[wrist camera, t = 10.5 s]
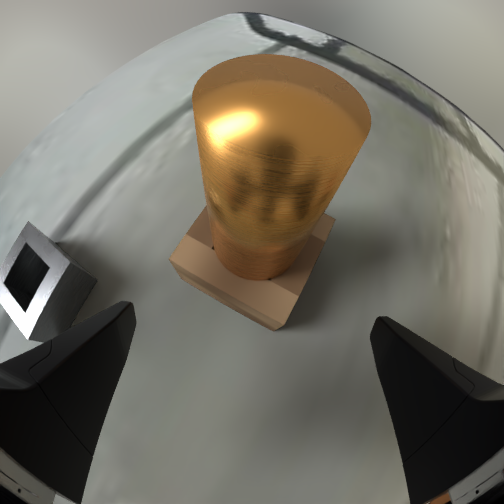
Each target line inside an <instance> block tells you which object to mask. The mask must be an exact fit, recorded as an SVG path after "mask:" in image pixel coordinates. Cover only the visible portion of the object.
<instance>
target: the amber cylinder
mask: <svg viewBox="0 0 504 504" xmlns="http://www.w3.org/2000/svg"><path fill="white" fill-rule="evenodd" d="M192 102H193V111H194V119H195V127H196V135H197V142H198V150H199V157H200V164H201V171H202V178H203V184H204V191H205V197H206V204H207V210H208V216H209V222H210V228H211V234H212V240H213V246H214V250H215V253H216V256H217V257H218V259H219V261H220V262H221V264H222V265H223V266H224V267H225V268H226V269H227V270H228V271H230V272H231V273H233V274H234V275H236V276H238V277H240V278H243V279H247V280H252V281H263V280H269V279H272V278H275V277H277V276H279V275H281V274H283V273H284V272H285V271H287V270H288V269H289V268H290V267H291V265H292V264H293V263H294V261H295V259H296V258H297V256H298V255H299V253H300V251H301V250H302V248H303V247H304V245H305V243H306V242H307V240H308V238H309V237H310V235H311V233H312V232H313V230H314V228H315V227H316V225H317V223H318V222H319V220H320V218H321V217H322V215H323V213H324V212H325V210H326V208H327V207H328V205H329V203H330V201H331V200H332V198H333V196H334V195H335V193H336V191H337V189H338V188H339V186H340V184H341V182H342V181H343V179H344V177H345V175H346V174H347V172H348V170H349V168H350V167H351V165H352V163H353V161H354V159H355V158H356V156H357V154H358V152H359V150H360V149H361V147H362V145H363V143H364V141H365V139H366V138H367V136H368V133H369V131H370V127H371V116H370V112H369V109H368V106H367V104H366V102H365V101H364V99H363V98H362V96H361V95H360V94H359V92H358V91H357V90H356V89H355V88H354V87H353V86H352V85H351V84H350V83H348V82H347V81H346V80H345V79H343V78H342V77H340V76H339V75H337V74H336V73H334V72H332V71H330V70H329V69H327V68H324V67H322V66H320V65H318V64H315V63H313V62H309V61H306V60H303V59H299V58H295V57H290V56H283V55H272V54H258V55H248V56H242V57H237V58H233V59H230V60H227V61H224V62H222V63H220V64H218V65H216V66H214V67H212V68H211V69H209V70H208V71H207V72H206V73H204V74H203V75H202V76H201V77H200V79H199V80H198V81H197V83H196V85H195V87H194V90H193V95H192Z"/></svg>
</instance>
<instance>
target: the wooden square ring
mask: <svg viewBox="0 0 504 504" xmlns="http://www.w3.org/2000/svg"><path fill="white" fill-rule="evenodd" d="M335 220H336V219H334V218H332V217H330V216H328V215H326V214H325V213H323V215H322V217H321V218H320V220H319V222H318V223H317V225H316V227H315V228H314V230H313V232H312V233H311V235H310V237H309V238H308V240H307V242H306V243H305V245H304V247H303V248H302V250H301V251H300V253H299V255H298V256H297V258H296V259H295V261H294V263H293V264H292V265H291V267H290V268H289V269H288V270H287V271H285V272H284V273H283V274H281V275H279V276H277V277H275V278H272V279H271V281H269V280H263V281H252V280H247V279H243V278H240V277H238V276H236V275H234V274H233V273H231V272H230V271H228V270H227V269H226V268H225V267H224V266H223V265H222V264H221V262H220V261H219V259H218V257H217V256H216V253H215V250H214V246H213V240H212V234H211V228H210V222H209V216H208V210H207V205H206V207H205V208H204V209H203V211H202V212H201V214H200V215H199V216H198V218H197V219H196V220H195V222H194V223H193V225H192V226H191V227H190V229H189V230H188V232H187V233H186V235H185V236H184V237H183V239H182V240H181V242H180V243H179V245H178V246H177V247H176V249H175V250H174V252H173V253H172V255H171V256H170V258H169V260H170V262H171V263H172V265H173V267H174V268H175V270H176V271H177V273H178V274H179V276H180V277H181V279H183V280H184V281H186V282H187V283H189V284H191V285H192V286H194V287H196V288H197V289H199V290H201V291H202V292H204V293H206V294H207V295H209V296H211V297H213V298H214V299H216V300H218V301H219V302H221V303H223V304H225V305H226V306H228V307H230V308H232V309H233V310H235V311H237V312H239V313H240V314H242V315H244V316H246V317H248V318H249V319H251V320H253V321H255V322H257V323H259V324H260V325H262V326H264V327H266V328H268V329H270V330H272V331H275V330H276V329H278V328H280V327H282V326H283V325H284V324H285V322H286V321H287V319H288V317H289V315H290V313H291V311H292V309H293V307H294V305H295V303H296V301H297V299H298V297H299V295H300V293H301V291H302V289H303V287H304V285H305V283H306V281H307V279H308V277H309V275H310V273H311V271H312V269H313V267H314V265H315V263H316V261H317V259H318V257H319V254H320V252H321V250H322V248H323V246H324V244H325V242H326V239H327V237H328V235H329V233H330V231H331V228H332V226H333V224H334V222H335Z"/></svg>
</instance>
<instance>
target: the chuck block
mask: <svg viewBox="0 0 504 504" xmlns="http://www.w3.org/2000/svg"><path fill="white" fill-rule="evenodd" d="M48 270H49V271H48ZM47 272H48V273H47ZM45 275H46V276H45ZM44 277H45V278H44ZM42 280H43V281H42ZM41 282H42V283H41ZM96 282H97V279H96V278H95V277H93V276H92V275H91V274H90V273H89V272H87V271H86V270H85V269H84V268H83V267H81V266H80V265H79V264H78V263H77V262H76V261H74V260H73V259H72V258H71V257H70V256H69V255H68V254H67V253H65V252H64V251H63V250H62V249H61V248H60V247H59V246H58V245H57V244H56V243H54V242H53V241H52V240H51V239H49V238H48V237H47V236H46V235H44V234H43V233H42V232H41V231H39V230H38V229H37V228H36V227H35V226H33V225H32V224H31V223H30V222H29V221H28V222H27V224H26V225H25V227H24V228H23V230H22V231H21V233H20V235H19V236H18V238H17V240H16V241H15V243H14V245H13V246H12V248H11V250H10V251H9V253H8V255H7V257H6V259H5V260H4V262H3V264H2V266H1V268H0V302H1V304H2V305H3V307H4V308H5V310H6V311H7V313H8V314H9V315H10V317H11V318H12V320H13V321H14V322H15V324H16V325H17V326H18V328H19V329H20V330H21V332H22V333H23V334H24V335H25V337H26V338H27V339H28V340H33V341H39V342H44V343H45V342H46V341H48V340H50V339H52V338H54V337H56V336H57V335H59V334H61V333H63V332H65V331H66V330H68V329H69V328H70V326H71V324H72V322H73V320H74V319H75V317H76V315H77V313H78V312H79V310H80V308H81V306H82V305H83V303H84V301H85V300H86V298H87V296H88V295H89V293H90V291H91V290H92V288H93V286H94V285H95V283H96ZM40 284H41V285H40ZM39 286H40V287H39ZM37 289H38V290H37ZM36 291H37V292H36ZM35 293H36V294H35ZM34 295H35V296H34Z"/></svg>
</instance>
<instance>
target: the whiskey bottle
mask: <svg viewBox="0 0 504 504" xmlns="http://www.w3.org/2000/svg"><path fill="white" fill-rule="evenodd" d="M448 501H450V497H449V494H448V493H447V494H445V495H443V496H441V497H439V498H437V499H435V500H433V501H432V502H431V503H430V504H445V503H446V502H448Z"/></svg>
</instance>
